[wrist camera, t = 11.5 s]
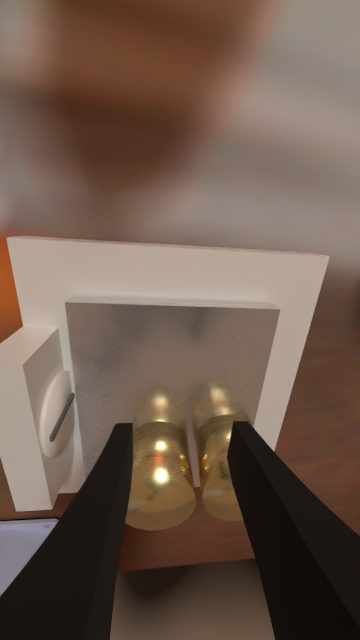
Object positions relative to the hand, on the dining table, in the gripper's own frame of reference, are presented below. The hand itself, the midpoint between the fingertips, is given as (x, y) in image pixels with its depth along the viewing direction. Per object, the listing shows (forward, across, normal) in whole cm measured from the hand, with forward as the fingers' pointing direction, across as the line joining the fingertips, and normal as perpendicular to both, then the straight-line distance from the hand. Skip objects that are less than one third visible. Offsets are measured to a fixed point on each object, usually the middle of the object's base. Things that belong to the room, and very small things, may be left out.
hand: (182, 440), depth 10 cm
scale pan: (+6, 0, +3) cm, 7 cm away
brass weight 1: (+5, +1, +6) cm, 8 cm away
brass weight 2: (+5, -4, +6) cm, 9 cm away
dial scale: (+8, 0, +3) cm, 9 cm away
